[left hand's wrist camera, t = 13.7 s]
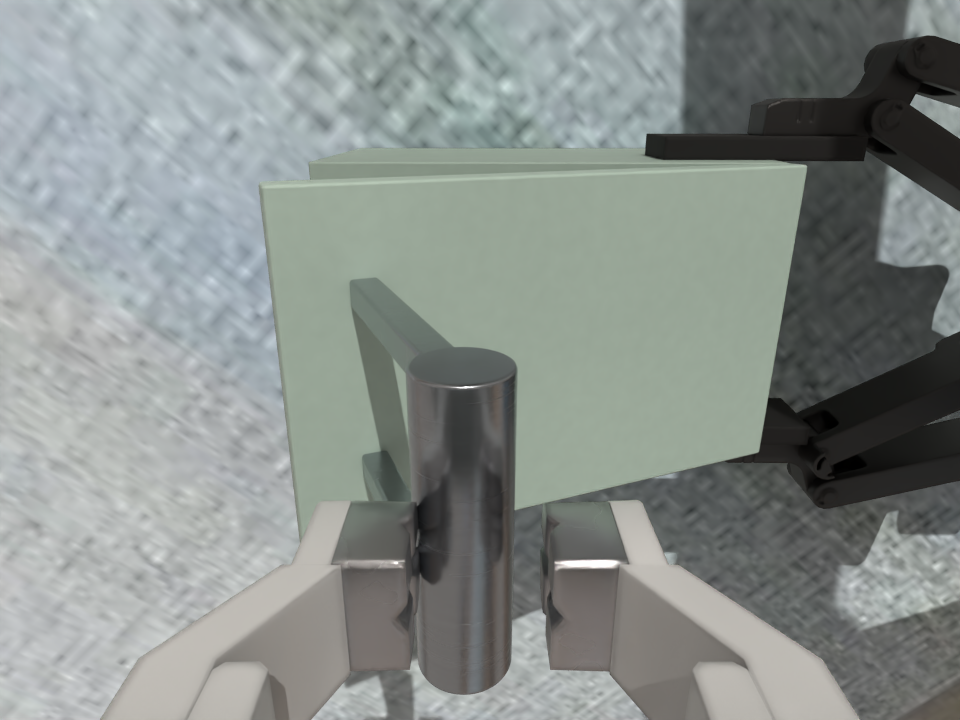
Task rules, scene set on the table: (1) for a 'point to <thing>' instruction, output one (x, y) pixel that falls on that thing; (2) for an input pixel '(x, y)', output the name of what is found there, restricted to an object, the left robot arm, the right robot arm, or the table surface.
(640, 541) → the left robot arm
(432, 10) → the table surface
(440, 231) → the lid
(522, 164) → the chest
